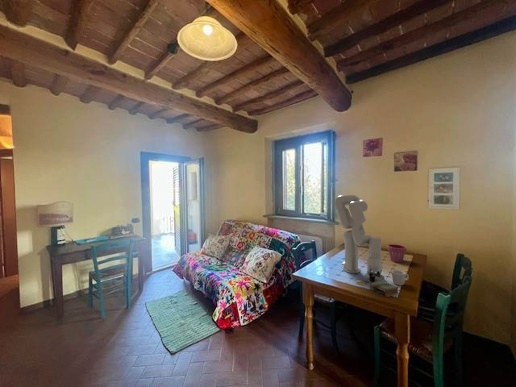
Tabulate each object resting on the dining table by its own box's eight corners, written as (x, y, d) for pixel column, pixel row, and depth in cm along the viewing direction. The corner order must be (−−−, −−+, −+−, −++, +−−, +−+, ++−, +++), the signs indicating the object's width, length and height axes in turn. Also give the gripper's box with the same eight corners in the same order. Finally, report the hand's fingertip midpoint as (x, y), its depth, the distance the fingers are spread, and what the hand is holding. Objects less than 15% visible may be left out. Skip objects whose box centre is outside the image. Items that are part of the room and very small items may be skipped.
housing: (365, 279, 159) (365, 273, 159) (371, 278, 162) (371, 271, 162) (379, 285, 151) (379, 277, 151) (384, 283, 154) (384, 276, 153)
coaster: (353, 282, 156) (354, 281, 156) (360, 279, 159) (360, 279, 159) (362, 285, 150) (362, 285, 150) (369, 283, 153) (369, 283, 153)
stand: (369, 289, 145) (369, 282, 144) (379, 285, 149) (379, 279, 149) (388, 297, 134) (388, 290, 134) (398, 293, 139) (398, 286, 139)
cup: (404, 280, 156) (404, 269, 156) (412, 286, 148) (412, 274, 148) (389, 281, 156) (389, 270, 156) (396, 286, 148) (396, 274, 148)
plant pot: (410, 261, 193) (410, 247, 193) (398, 264, 188) (398, 249, 188) (394, 257, 207) (394, 243, 206) (383, 259, 202) (383, 245, 201)
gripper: (377, 251, 163) (377, 276, 164) (361, 255, 155) (362, 281, 156) (387, 254, 157) (387, 279, 157) (371, 258, 148) (372, 285, 149)
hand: (375, 280), depth 156 cm, fingers open, 6 cm apart
